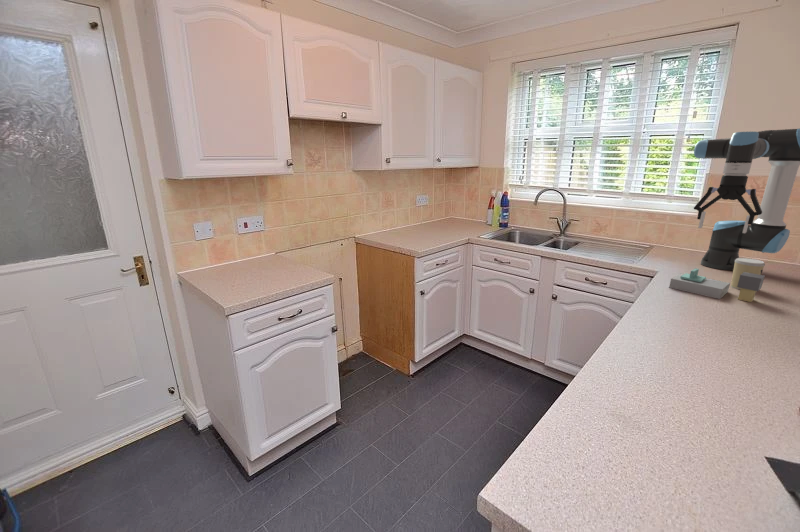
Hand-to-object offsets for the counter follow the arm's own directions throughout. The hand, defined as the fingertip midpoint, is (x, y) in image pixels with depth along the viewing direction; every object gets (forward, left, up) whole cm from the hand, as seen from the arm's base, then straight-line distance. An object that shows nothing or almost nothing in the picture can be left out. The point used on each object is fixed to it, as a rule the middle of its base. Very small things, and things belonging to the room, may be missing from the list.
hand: (721, 230), depth 147 cm
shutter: (+1, -5, -21) cm, 22 cm away
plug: (0, +12, -26) cm, 28 cm away
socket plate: (+1, -3, -26) cm, 26 cm away
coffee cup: (-17, +8, -26) cm, 32 cm away
